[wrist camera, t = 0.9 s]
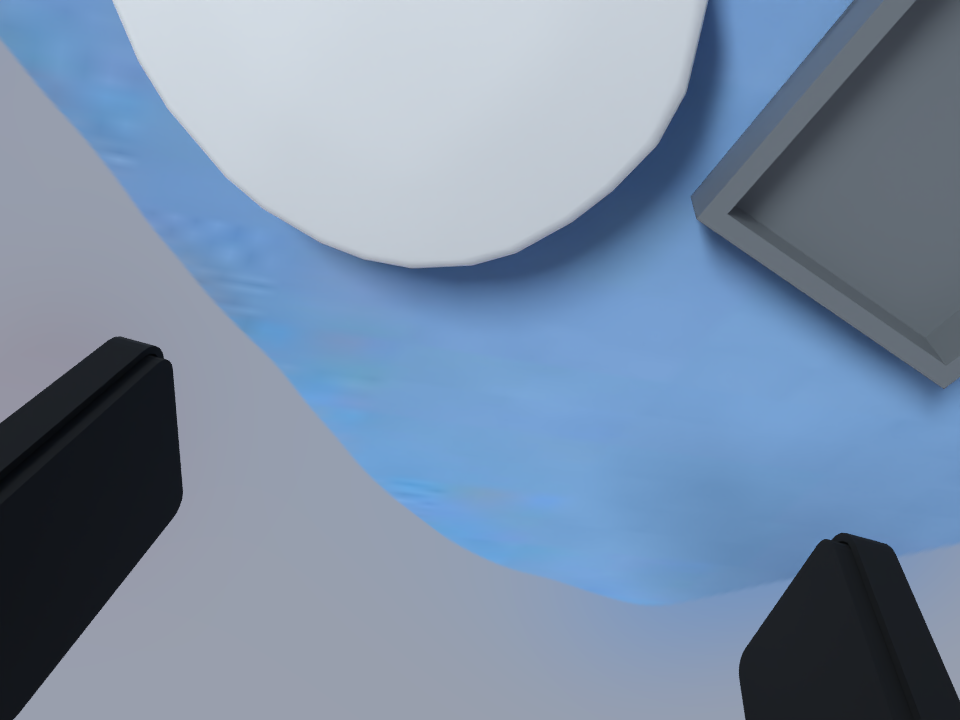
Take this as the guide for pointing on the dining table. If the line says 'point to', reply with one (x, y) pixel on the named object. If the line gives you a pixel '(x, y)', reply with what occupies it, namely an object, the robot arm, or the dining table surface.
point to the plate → (421, 110)
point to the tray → (861, 180)
